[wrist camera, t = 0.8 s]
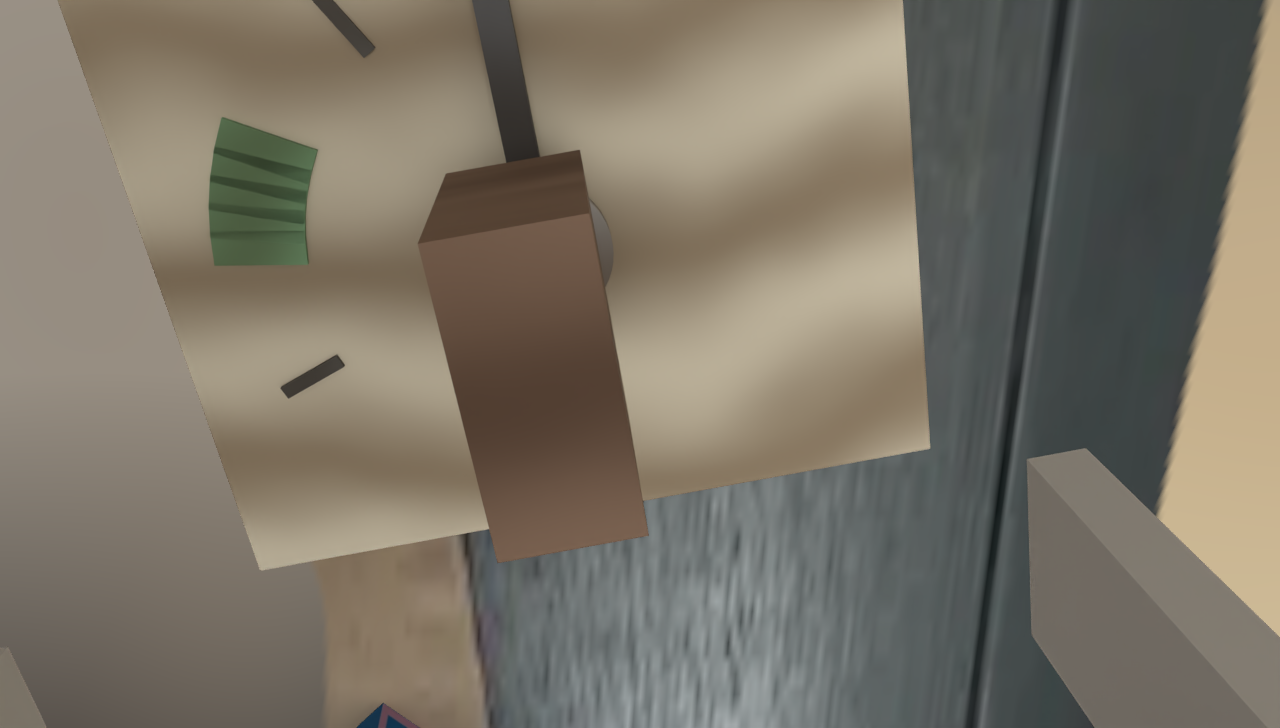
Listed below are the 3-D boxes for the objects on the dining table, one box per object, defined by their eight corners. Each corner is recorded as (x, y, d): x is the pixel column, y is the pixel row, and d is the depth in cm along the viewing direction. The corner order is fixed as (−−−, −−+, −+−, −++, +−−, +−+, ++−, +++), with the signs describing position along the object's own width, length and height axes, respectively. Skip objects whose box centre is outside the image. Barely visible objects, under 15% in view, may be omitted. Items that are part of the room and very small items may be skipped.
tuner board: (84, -18, 29) (50, -14, 27) (871, -155, 30) (894, -161, 28) (274, 537, 36) (259, 573, 34) (910, 422, 37) (932, 450, 35)
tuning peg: (400, -53, 27) (321, -40, 18) (554, -80, 27) (559, -82, 18) (499, 372, 32) (478, 566, 22) (630, 348, 32) (667, 532, 22)
